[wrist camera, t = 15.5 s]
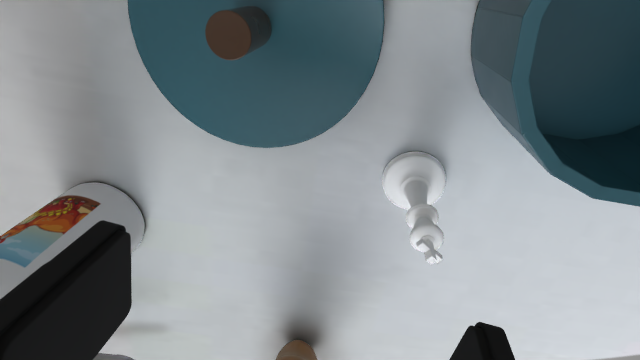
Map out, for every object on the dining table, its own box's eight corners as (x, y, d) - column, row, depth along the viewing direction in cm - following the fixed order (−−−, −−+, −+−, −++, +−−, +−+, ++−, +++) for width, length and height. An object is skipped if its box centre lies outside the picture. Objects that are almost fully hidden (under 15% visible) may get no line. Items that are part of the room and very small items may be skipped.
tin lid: (86, -18, 26) (11, -19, 21) (289, -210, 21) (260, -281, 15) (236, 177, 32) (209, 217, 26) (428, 69, 26) (443, 91, 21)
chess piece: (415, 138, 29) (436, 206, 20) (459, 179, 30) (497, 261, 21) (368, 180, 31) (368, 259, 22) (411, 217, 32) (427, 306, 23)
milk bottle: (153, 198, 34) (-84, 430, 16) (142, 260, 37) (-63, 507, 20) (69, 167, 33) (-271, 370, 16) (65, 233, 37) (-214, 460, 19)
